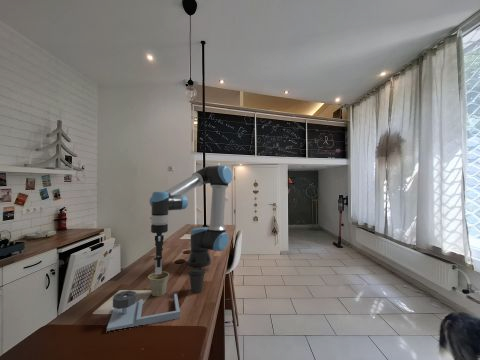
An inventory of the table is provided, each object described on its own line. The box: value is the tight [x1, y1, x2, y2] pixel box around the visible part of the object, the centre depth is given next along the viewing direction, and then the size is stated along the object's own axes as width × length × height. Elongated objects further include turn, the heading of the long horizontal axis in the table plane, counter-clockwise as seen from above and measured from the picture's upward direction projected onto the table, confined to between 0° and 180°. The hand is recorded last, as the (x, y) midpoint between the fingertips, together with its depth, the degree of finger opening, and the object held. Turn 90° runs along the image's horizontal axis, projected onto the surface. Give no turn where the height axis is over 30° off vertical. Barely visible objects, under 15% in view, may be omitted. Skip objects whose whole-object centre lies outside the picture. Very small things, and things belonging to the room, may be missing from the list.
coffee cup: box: [188, 268, 206, 294], centre depth 109 cm, size 8×8×10 cm
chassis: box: [106, 293, 181, 332], centre depth 89 cm, size 25×16×8 cm, turn 110°
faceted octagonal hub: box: [112, 290, 137, 309], centre depth 87 cm, size 8×8×3 cm
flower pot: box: [147, 271, 170, 298], centre depth 106 cm, size 9×9×9 cm
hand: (158, 268), depth 106 cm, fingers open, 13 cm apart
